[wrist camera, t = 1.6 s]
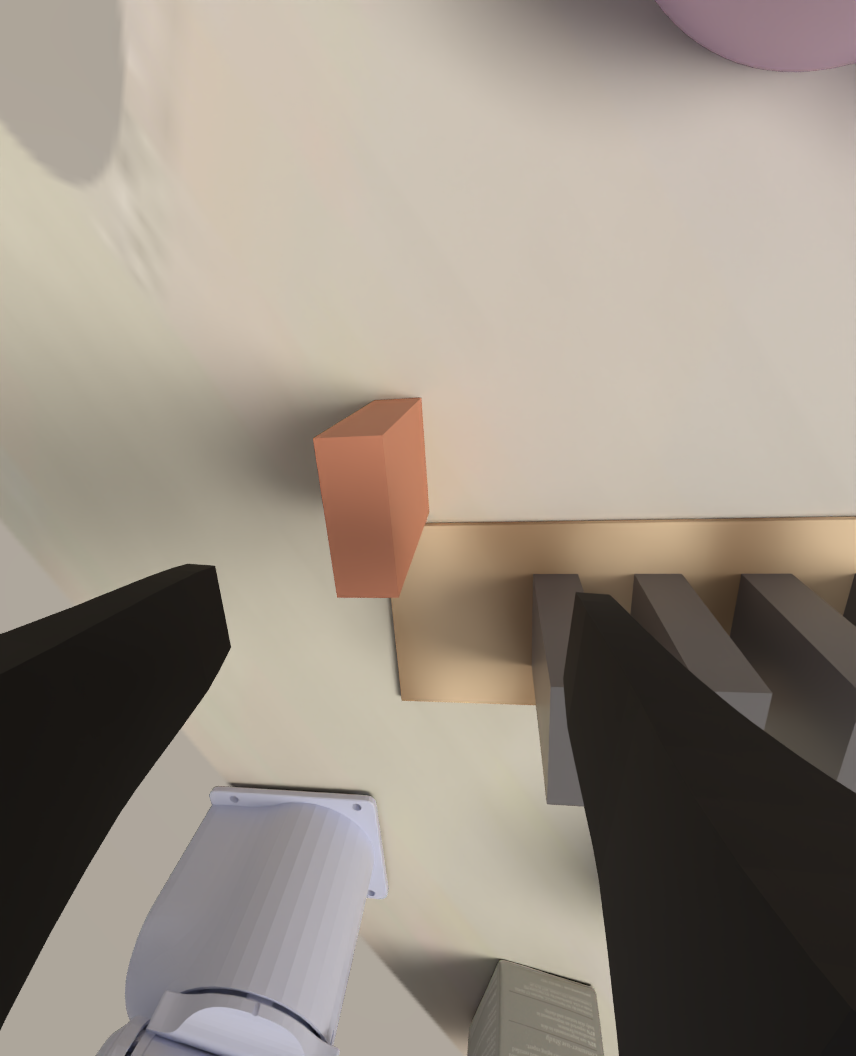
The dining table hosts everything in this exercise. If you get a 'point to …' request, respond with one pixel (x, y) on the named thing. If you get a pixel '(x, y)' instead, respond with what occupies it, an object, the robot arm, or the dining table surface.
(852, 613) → the domino
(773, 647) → the domino
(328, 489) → the rust domino
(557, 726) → the domino
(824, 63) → the clip
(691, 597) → the domino
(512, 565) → the cork strip
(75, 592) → the dining table surface
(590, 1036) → the skincare box
